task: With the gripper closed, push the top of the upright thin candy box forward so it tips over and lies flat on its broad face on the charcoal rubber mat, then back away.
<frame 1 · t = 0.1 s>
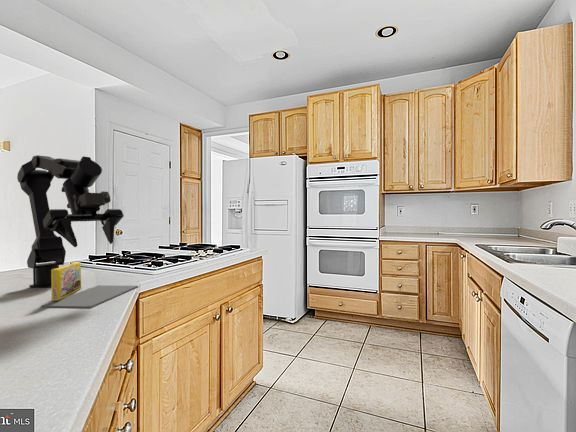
hand: (94, 244, 89), 15 cm above the worktop, tool tilted 30°, fingers open, 9 cm apart
candy box: (68, 295, 93), on the worktop, touching mat
mat: (95, 296, 92), on the worktop
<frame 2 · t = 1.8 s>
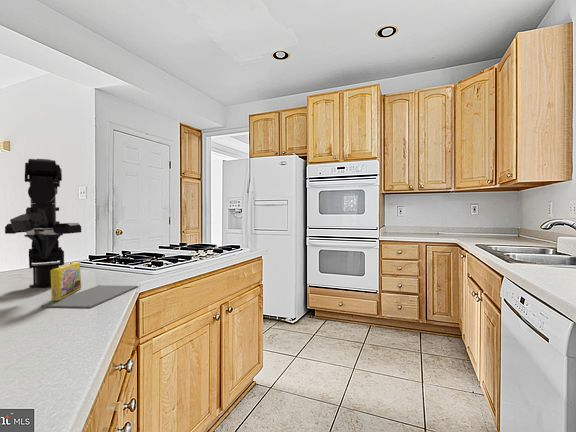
hand: (44, 258, 93), 10 cm above the worktop, tool pointing down, fingers closed
nothing on the worktop moved.
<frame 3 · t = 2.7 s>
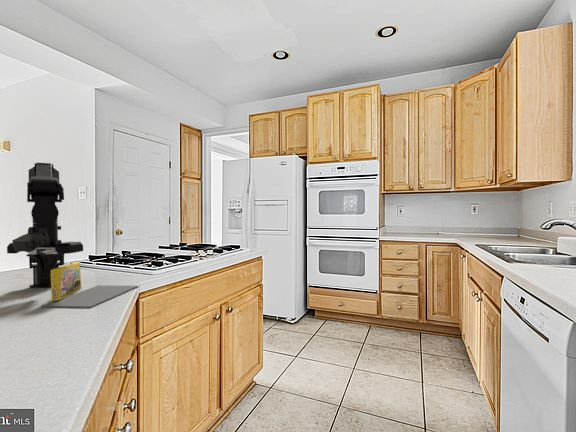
hand: (46, 277, 93), 5 cm above the worktop, tool pointing down, fingers closed
nothing on the worktop moved.
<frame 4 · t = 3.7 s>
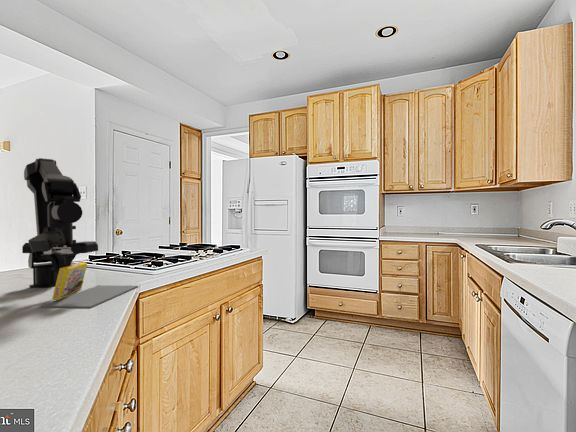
hand: (61, 277, 93), 5 cm above the worktop, tool pointing down, fingers closed
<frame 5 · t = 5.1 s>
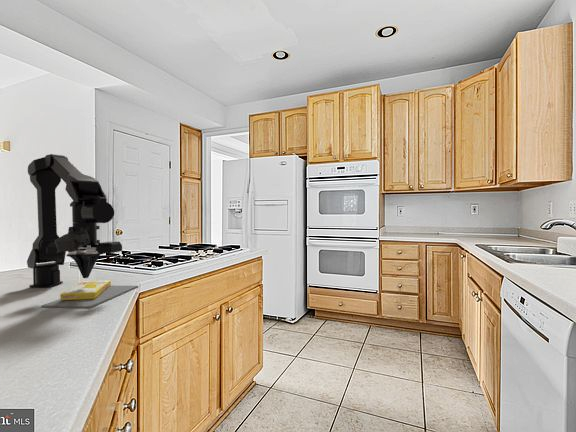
hand: (85, 277, 92), 5 cm above the worktop, tool pointing down, fingers closed
candy box: (70, 290, 93), point 1 cm above the worktop, touching mat
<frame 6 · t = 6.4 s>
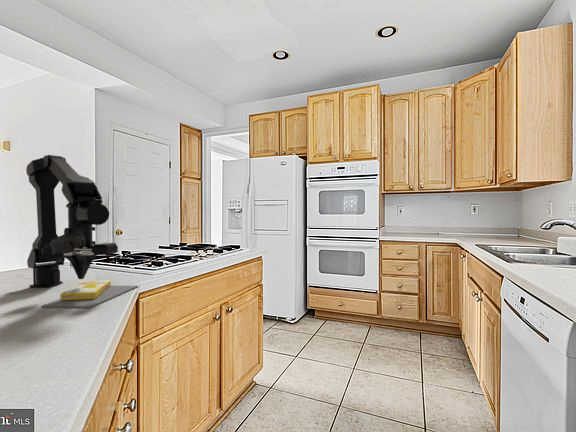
hand: (81, 278, 92), 5 cm above the worktop, tool pointing down, fingers closed
nothing on the worktop moved.
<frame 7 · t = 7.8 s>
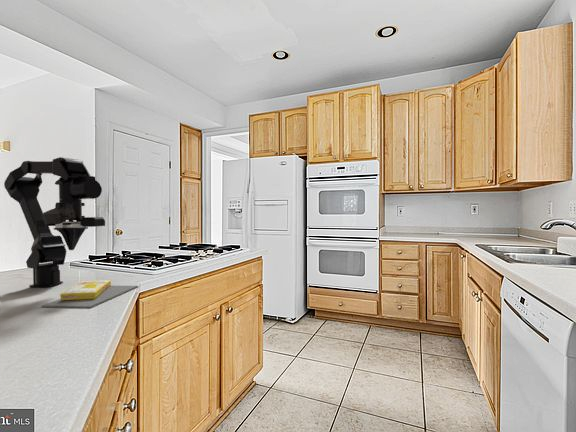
hand: (71, 250, 101), 12 cm above the worktop, tool pointing down, fingers closed
nothing on the worktop moved.
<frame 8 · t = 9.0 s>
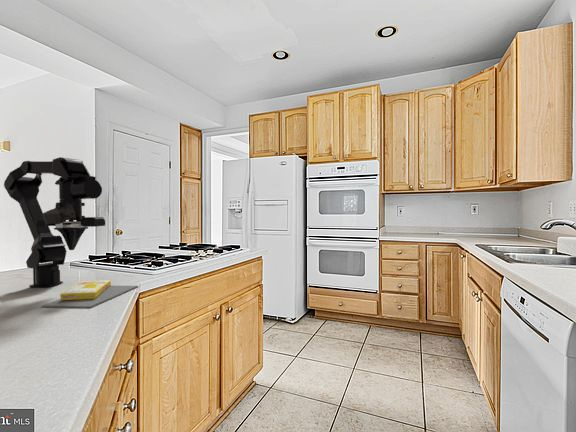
hand: (71, 249, 101), 12 cm above the worktop, tool pointing down, fingers closed
nothing on the worktop moved.
at the end: candy box tilted 89°; candy box touching mat; candy box inside the target area (3.4 cm from its centre), point 1.4 cm above the worktop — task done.
